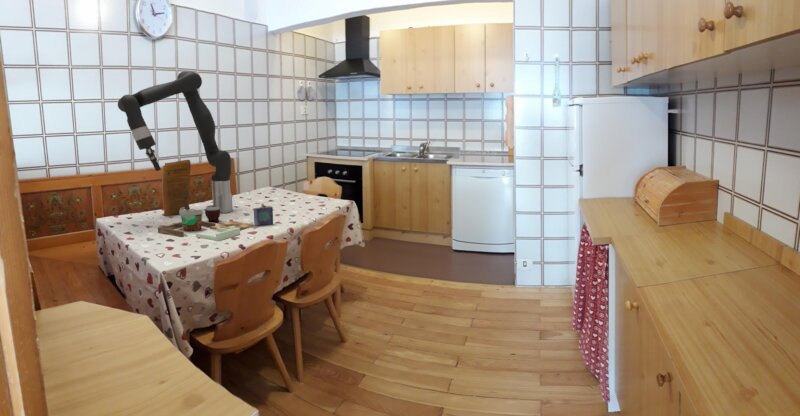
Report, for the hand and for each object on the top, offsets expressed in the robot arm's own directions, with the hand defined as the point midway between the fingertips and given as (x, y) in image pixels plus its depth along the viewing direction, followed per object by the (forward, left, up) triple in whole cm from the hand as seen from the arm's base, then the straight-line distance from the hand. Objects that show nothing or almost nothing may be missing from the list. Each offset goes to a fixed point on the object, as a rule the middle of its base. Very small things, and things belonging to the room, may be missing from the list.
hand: (158, 170), depth 242 cm
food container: (+1, +19, -27) cm, 32 cm away
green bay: (+1, +37, -26) cm, 45 cm away
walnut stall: (+1, +18, -26) cm, 32 cm away
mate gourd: (-17, +16, -27) cm, 35 cm away
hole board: (-13, +32, -26) cm, 43 cm away
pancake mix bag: (-21, -14, -27) cm, 37 cm away
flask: (-25, +41, -27) cm, 55 cm away
